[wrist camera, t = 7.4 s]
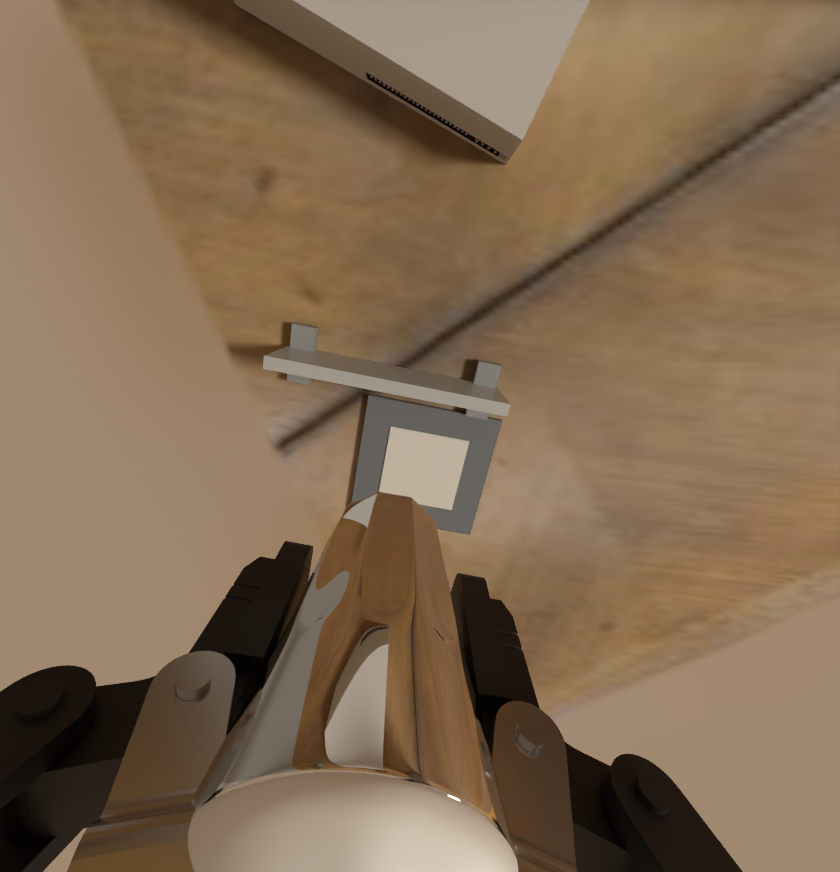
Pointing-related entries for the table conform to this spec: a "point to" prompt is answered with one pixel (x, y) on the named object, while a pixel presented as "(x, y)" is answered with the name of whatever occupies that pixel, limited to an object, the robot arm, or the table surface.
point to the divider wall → (387, 376)
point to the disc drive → (442, 55)
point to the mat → (426, 458)
